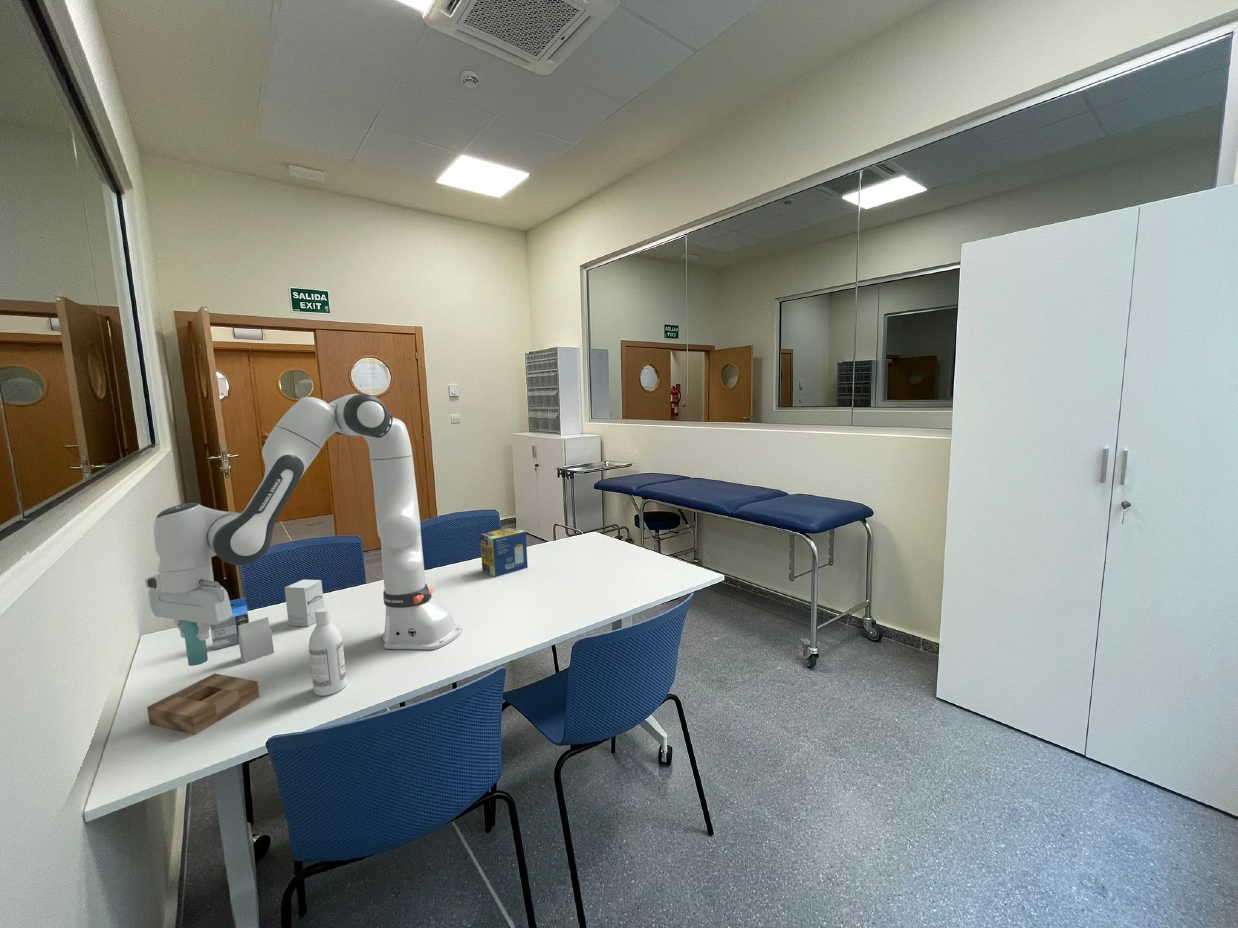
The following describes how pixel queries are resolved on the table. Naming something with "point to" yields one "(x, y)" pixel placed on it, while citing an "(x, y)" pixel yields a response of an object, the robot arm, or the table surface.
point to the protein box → (503, 551)
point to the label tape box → (230, 625)
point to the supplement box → (303, 602)
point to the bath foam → (326, 656)
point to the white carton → (255, 640)
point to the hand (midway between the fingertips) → (195, 638)
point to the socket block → (203, 703)
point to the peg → (194, 644)
